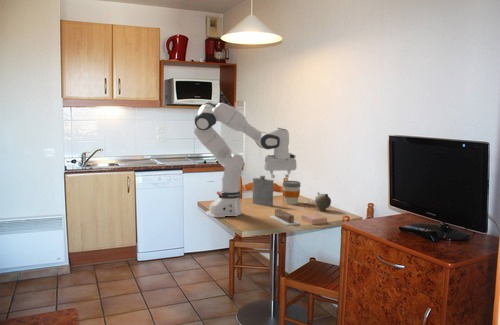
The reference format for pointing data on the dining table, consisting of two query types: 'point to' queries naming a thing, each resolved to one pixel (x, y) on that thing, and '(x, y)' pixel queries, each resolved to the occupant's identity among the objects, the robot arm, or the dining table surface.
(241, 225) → the dining table surface
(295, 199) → the reusable coffee cup
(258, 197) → the hip flask
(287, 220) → the push stick
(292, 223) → the tool mat
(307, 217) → the tile
